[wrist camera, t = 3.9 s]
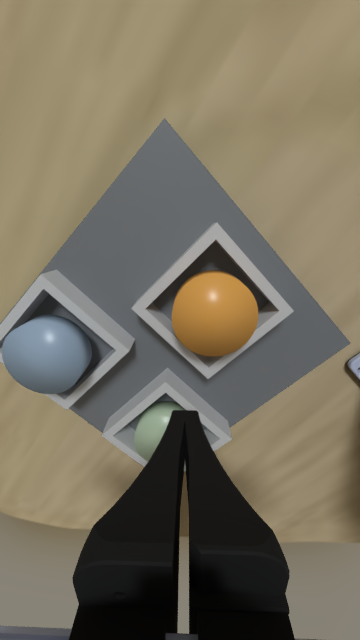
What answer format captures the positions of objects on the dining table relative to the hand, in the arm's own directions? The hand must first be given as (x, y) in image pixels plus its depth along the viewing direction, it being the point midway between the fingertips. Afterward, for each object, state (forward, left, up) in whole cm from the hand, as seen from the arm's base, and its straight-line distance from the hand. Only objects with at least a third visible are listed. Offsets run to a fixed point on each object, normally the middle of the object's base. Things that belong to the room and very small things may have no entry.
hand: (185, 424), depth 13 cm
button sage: (-2, +4, -4) cm, 6 cm away
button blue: (+8, +4, -3) cm, 10 cm away
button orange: (+3, -5, -4) cm, 7 cm away
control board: (+3, 0, -6) cm, 7 cm away
